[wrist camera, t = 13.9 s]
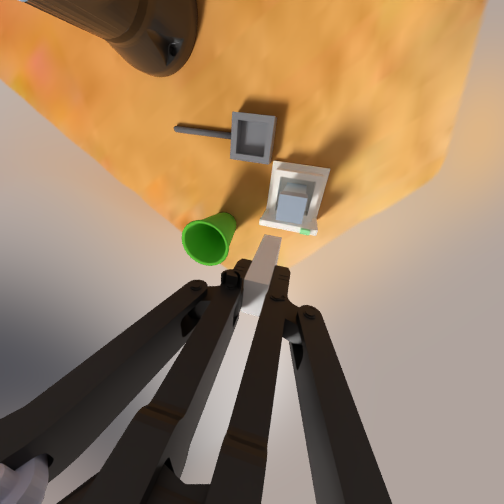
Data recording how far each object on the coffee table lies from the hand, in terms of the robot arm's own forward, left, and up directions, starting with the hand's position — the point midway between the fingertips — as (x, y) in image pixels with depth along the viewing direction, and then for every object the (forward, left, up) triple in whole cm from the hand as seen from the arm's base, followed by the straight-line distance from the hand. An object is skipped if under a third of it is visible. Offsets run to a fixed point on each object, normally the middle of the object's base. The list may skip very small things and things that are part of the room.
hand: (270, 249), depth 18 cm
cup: (+9, -13, -25) cm, 29 cm away
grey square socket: (-8, -8, -25) cm, 27 cm away
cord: (-8, -18, -25) cm, 31 cm away
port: (0, +1, -25) cm, 25 cm away
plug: (0, +1, -24) cm, 24 cm away
